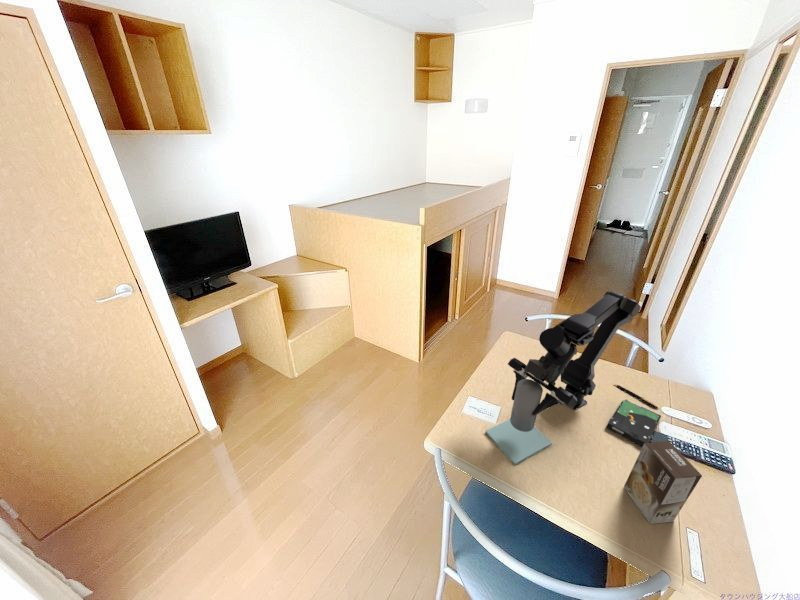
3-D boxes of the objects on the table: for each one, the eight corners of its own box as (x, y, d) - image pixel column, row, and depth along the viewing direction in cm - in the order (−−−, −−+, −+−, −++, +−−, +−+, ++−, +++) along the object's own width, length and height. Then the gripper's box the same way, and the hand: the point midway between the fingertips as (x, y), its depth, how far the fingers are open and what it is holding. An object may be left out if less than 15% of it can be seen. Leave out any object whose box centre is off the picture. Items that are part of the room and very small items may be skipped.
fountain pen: (611, 385, 115) (612, 381, 114) (612, 383, 116) (614, 380, 115) (657, 411, 104) (658, 407, 104) (658, 409, 105) (660, 406, 104)
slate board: (520, 415, 103) (520, 413, 102) (551, 444, 93) (552, 442, 93) (485, 432, 97) (485, 430, 97) (514, 465, 88) (515, 463, 87)
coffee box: (675, 521, 75) (705, 477, 67) (649, 524, 74) (676, 479, 67) (645, 483, 83) (669, 439, 75) (621, 485, 82) (643, 442, 75)
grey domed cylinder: (529, 413, 95) (537, 378, 89) (537, 431, 89) (546, 396, 83) (507, 413, 95) (513, 379, 89) (514, 431, 89) (521, 396, 83)
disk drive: (645, 450, 92) (658, 421, 101) (648, 444, 91) (661, 414, 99) (605, 429, 99) (620, 403, 107) (607, 422, 97) (623, 397, 106)
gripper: (516, 333, 90) (484, 379, 90) (582, 370, 76) (543, 425, 76) (530, 347, 97) (500, 389, 97) (592, 383, 84) (556, 432, 83)
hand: (522, 407), depth 88 cm, fingers closed on grey domed cylinder, 6 cm apart
